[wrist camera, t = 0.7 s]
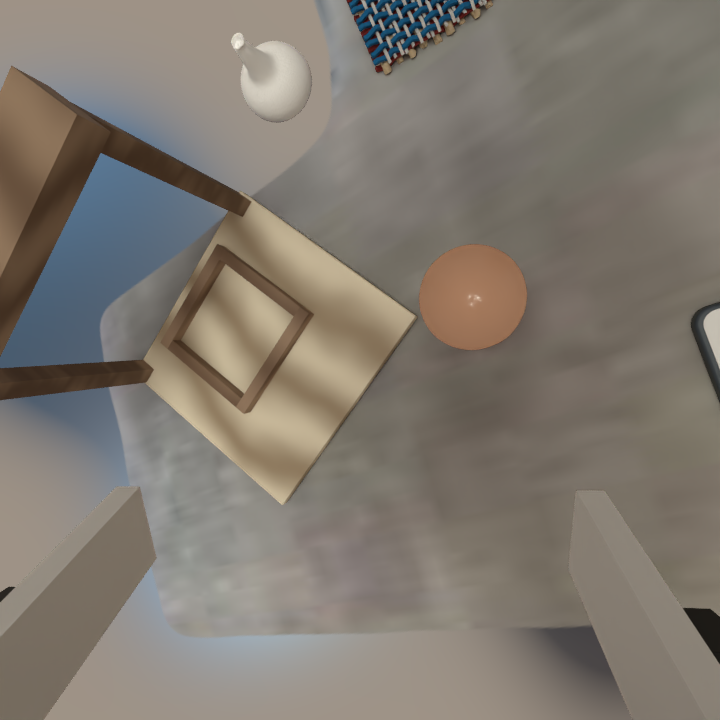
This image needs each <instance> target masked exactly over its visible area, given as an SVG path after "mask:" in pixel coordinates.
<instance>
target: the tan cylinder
mask: <svg viewBox="0 0 720 720" xmlns="http://www.w3.org/2000/svg"><path fill="white" fill-rule="evenodd" d="M526 302H527V289H526V284H525V280H524V277H523V274H522V272H521V271H520V269H519V267H518V266H517V264H516V263H515V262H514V261H513V260H512V259H511V258H510V257H509V256H508V255H506V254H505V253H504V252H502V251H500V250H498V249H496V248H493V247H490V246H486V245H479V244H470V245H463V246H460V247H456V248H454V249H452V250H449V251H448V252H446V253H444V254H443V255H441V256H440V257H439V258H438V259H437V260H436V261H435V262H434V263H433V264H432V265H431V266H430V268H429V269H428V271H427V272H426V274H425V276H424V278H423V280H422V284H421V287H420V293H419V304H420V310H421V314H422V317H423V320H424V322H425V324H426V325H427V327H428V328H429V330H430V331H431V332H432V333H433V334H434V335H435V336H436V337H437V338H438V339H439V340H441V341H442V342H444V343H445V344H447V345H450V346H452V347H455V348H458V349H464V350H478V349H484V348H488V347H490V346H493V345H495V344H498V343H500V342H502V341H503V340H505V339H506V338H508V337H509V336H510V335H511V334H512V333H513V331H514V330H515V329H516V327H517V326H518V324H519V322H520V320H521V318H522V316H523V314H524V311H525V307H526Z"/></svg>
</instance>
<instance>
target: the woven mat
mask: <svg viewBox="0 0 720 720" xmlns="http://www.w3.org/2000/svg"><path fill="white" fill-rule="evenodd" d="M347 3H348V4H349V7H350V10H351V12H352V14H353V15H354V14H356V13H357V12H358V14H359V15H356V16H354V20H355V22H356V23H357V26H358V28H359V31H362V32H361V35H362V37H363V39H364V42H365V45H366V47H367V49H368V52H369V54H370V53H371V59H372V61H373V63H374V65H375V66H376V65H378V64H379V63H380V65H379V66H376V67H375V70H376V72H380V71H384V73H385V75H386V74H388V73H390V72H391V71H392V69H391V65H392V64H393V63H394V61H395V60H396V61H397V62H398V64H400V63H401V62H403V61H404V59H403V57H402V55H404V54H405V53H406V54H407V53H408V55H409V56H410V58H413V57H415V56H416V50H415V49H414V47H415V46H417V45H419V46H420V47H421V48H422V49H423V48H425V47H427V43H428V42H427V40H428V39H429V38H431V37H432V38H433V40H434V42H435V44H436V45H437V44H438V43H440V42H442V41H443V40H442V38H441V36H440V34H439V33H441V32H445V31H446V34H447V36H448V35H450V34H452V33H453V32H455V29H454V26H455V25H456V24H457V23H459V25H462V24H463V23H465V22H466V21H465V19H464V16H466V15H468V14H469V13H470V14H471V15H472V17H473V18H474V19H476V18H478V17H479V16H480V9H479V8H478V7H480V6H482V5H483V4H484V5H485V7H486V9H488V8H489V7H491V6H492V5H493V3H492V1H491V0H347ZM370 4H371V5H370ZM369 5H370V6H369ZM384 5H385V7H386V8H384ZM420 21H421V22H420ZM442 25H443V26H442ZM364 29H365V30H364ZM413 32H414V33H413ZM385 38H386V40H384V39H385Z"/></svg>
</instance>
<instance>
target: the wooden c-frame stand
mask: <svg viewBox="0 0 720 720" xmlns="http://www.w3.org/2000/svg"><path fill="white" fill-rule="evenodd" d="M100 153H103V154H105V155H107V156H109V157H111V158H114V159H116V160H118V161H120V162H122V163H125V164H127V165H129V166H131V167H134V168H136V169H138V170H140V171H142V172H144V173H147V174H149V175H151V176H154V177H156V178H158V179H160V180H162V181H164V182H167V183H169V184H171V185H173V186H175V187H178V188H180V189H182V190H185V191H186V192H189V193H191V194H193V195H195V196H198V197H200V198H202V199H204V200H206V201H208V202H211V203H213V204H215V205H217V206H220V207H222V208H224V209H226V210H228V213H227V214H226V216H225V218H224V220H223V221H222V223H221V225H220V227H219V228H218V230H217V232H216V234H215V235H214V237H213V239H212V241H211V242H210V244H209V246H208V248H207V249H206V251H205V253H204V255H203V256H202V258H201V260H200V262H199V263H198V265H197V267H196V268H195V270H194V272H193V274H192V275H191V277H190V279H189V281H188V282H187V284H186V286H185V288H184V289H183V291H182V293H181V295H180V296H179V298H178V300H177V302H176V303H175V305H174V307H173V309H172V310H171V312H170V314H169V316H168V317H167V319H166V321H165V323H164V324H163V326H162V328H161V330H160V331H159V333H158V335H157V337H156V338H155V340H154V342H153V344H152V345H151V347H150V349H149V351H148V352H147V354H146V356H145V358H144V359H143V360H132V361H115V362H99V363H82V364H65V365H49V366H32V367H15V368H0V400H5V399H14V398H21V397H30V396H38V395H46V394H55V393H62V392H70V391H79V390H87V389H95V388H104V387H112V386H120V385H128V384H137V383H145V384H147V385H148V386H149V387H150V388H151V389H152V390H153V391H154V392H156V393H157V394H158V395H159V396H160V397H161V398H162V399H163V400H165V401H166V402H167V403H168V404H169V405H170V406H171V407H172V408H174V409H175V410H176V411H177V412H178V413H179V414H180V415H181V416H183V417H184V418H185V419H186V420H187V421H188V422H189V423H190V424H192V425H193V426H194V427H195V428H196V429H197V430H198V431H199V432H201V433H202V434H203V435H204V436H205V437H206V438H207V439H208V440H210V441H211V442H212V443H213V444H214V445H215V446H216V447H217V448H219V449H220V450H221V451H222V452H223V453H224V454H225V455H226V456H228V457H229V458H230V459H231V460H232V461H233V462H234V463H235V464H237V465H238V466H239V467H240V468H241V469H242V470H243V471H244V472H246V473H247V474H248V475H249V476H250V477H251V478H252V479H253V480H255V481H256V482H257V483H258V484H259V485H260V486H261V487H262V488H264V489H265V490H266V491H267V492H268V493H269V494H270V495H271V496H273V497H274V498H275V499H276V500H277V501H278V502H279V503H280V504H282V505H283V504H285V503H286V502H287V501H288V500H289V498H290V497H291V496H292V494H293V493H294V491H295V490H296V489H297V487H298V486H299V484H300V483H301V481H302V480H303V479H304V477H305V476H306V474H307V473H308V472H309V470H310V469H311V467H312V466H313V464H314V463H315V462H316V460H317V459H318V457H319V456H320V455H321V453H322V452H323V450H324V449H325V447H326V446H327V445H328V443H329V442H330V440H331V439H332V438H333V436H334V435H335V433H336V432H337V430H338V429H339V428H340V426H341V425H342V423H343V422H344V421H345V419H346V418H347V416H348V415H349V413H350V412H351V411H352V409H353V408H354V406H355V405H356V404H357V402H358V401H359V399H360V398H361V396H362V395H363V394H364V392H365V391H366V389H367V388H368V387H369V385H370V384H371V382H372V381H373V379H374V378H375V377H376V375H377V374H378V372H379V371H380V370H381V368H382V367H383V365H384V364H385V362H386V361H387V360H388V358H389V357H390V355H391V354H392V353H393V351H394V350H395V348H396V347H397V345H398V344H399V343H400V341H401V340H402V338H403V337H404V336H405V334H406V333H407V331H408V330H409V328H410V327H411V326H412V324H413V323H414V321H415V320H416V319H417V316H416V315H415V314H413V313H412V312H410V311H409V310H408V309H406V308H405V307H403V306H402V305H401V304H399V303H398V302H396V301H395V300H394V299H392V298H391V297H389V296H388V295H387V294H385V293H384V292H382V291H381V290H380V289H378V288H377V287H375V286H374V285H373V284H371V283H370V282H368V281H367V280H366V279H364V278H363V277H361V276H360V275H359V274H357V273H356V272H354V271H353V270H352V269H350V268H349V267H347V266H346V265H345V264H343V263H342V262H340V261H339V260H338V259H336V258H335V257H333V256H332V255H331V254H329V253H328V252H326V251H325V250H324V249H322V248H321V247H319V246H318V245H317V244H315V243H314V242H312V241H311V240H310V239H308V238H307V237H306V236H304V235H303V234H301V233H300V232H299V231H297V230H296V229H294V228H293V227H292V226H290V225H289V224H287V223H286V222H285V221H283V220H282V219H280V218H279V217H278V216H276V215H275V214H273V213H272V212H271V211H269V210H268V209H266V208H265V207H264V206H262V205H261V204H259V203H258V202H257V201H255V200H254V199H252V198H251V197H250V196H248V195H247V194H245V193H243V192H242V191H240V192H237V191H235V190H233V189H231V188H229V187H228V186H226V185H224V184H222V183H220V182H218V181H216V180H214V179H213V178H211V177H209V176H207V175H205V174H203V173H201V172H199V171H198V170H196V169H194V168H192V167H190V166H188V165H186V164H185V163H183V162H181V161H179V160H177V159H175V158H174V157H171V156H170V155H168V154H166V153H164V152H162V151H160V150H159V149H157V148H155V147H153V146H151V145H149V144H147V143H145V142H144V141H142V140H140V139H138V138H136V137H134V136H133V135H131V134H129V133H127V132H125V131H123V130H121V129H119V128H118V127H116V126H114V125H112V124H110V123H108V122H107V121H105V120H103V119H101V118H99V117H97V116H95V115H93V114H92V113H90V112H88V111H86V110H84V109H82V108H80V107H78V106H77V105H75V104H73V103H71V102H69V101H68V100H67V99H65V98H64V97H63V96H61V95H60V94H59V93H57V92H56V91H55V90H53V89H52V88H51V87H49V86H47V85H46V84H44V83H42V82H40V81H38V80H37V79H35V78H33V77H31V76H29V75H27V74H26V73H24V72H22V71H20V70H18V69H16V68H15V67H13V66H11V68H10V70H9V73H8V75H7V77H6V80H5V82H4V85H3V87H2V89H1V91H0V356H1V354H2V352H3V350H4V348H5V346H6V344H7V342H8V340H9V338H10V335H11V334H12V331H13V329H14V327H15V325H16V323H17V321H18V319H19V317H20V315H21V313H22V311H23V309H24V307H25V305H26V303H27V301H28V299H29V297H30V295H31V293H32V291H33V289H34V287H35V285H36V283H37V281H38V279H39V277H40V275H41V273H42V271H43V269H44V267H45V265H46V263H47V260H48V258H49V256H50V254H51V252H52V250H53V248H54V246H55V244H56V242H57V240H58V238H59V236H60V234H61V232H62V230H63V228H64V226H65V224H66V222H67V220H68V218H69V216H70V214H71V212H72V210H73V208H74V206H75V204H76V202H77V200H78V198H79V196H80V193H81V191H82V189H83V187H84V185H85V183H86V181H87V179H88V177H89V175H90V173H91V171H92V169H93V167H94V165H95V163H96V161H97V159H98V157H99V155H100Z"/></svg>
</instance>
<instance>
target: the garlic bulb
mask: <svg viewBox="0 0 720 720" xmlns="http://www.w3.org/2000/svg"><path fill="white" fill-rule="evenodd" d="M231 44H232V45H233V47H234V50H235V51H236V52H237V54H238V56H239V57H240V59H241V61H242V62H243V67H242V71H241V89H242V93H243V96H244V99H245V101H246V103H247V105H248V106H249V107H250V109H251V110H252V111H253V112H254V113H255V114H256V115H258V116H259V117H261V118H262V119H264V120H267V121H271V122H284V121H286V120H289V119H291V118H293V117H295V116H296V115H297V114H298V113H299V112H300V111H301V110H302V109H303V108H304V106H305V104H306V103H307V101H308V98H309V96H310V92H311V86H312V76H311V72H310V68H309V65H308V63H307V61H306V59H305V58H304V56H303V55H302V54H301V53H300V52H299V51H298V50H297V49H296V48H294V47H293V46H291V45H289V44H287V43H284V42H281V41H269V42H265V43H262V44H260V45H258V46H257V47H255V46H253V45H252V44H250V43H249V42H248V41H247V40H245V39H244V37H243V36H242V34H241V33H236V34H235V35H234V36H233V37H232V40H231Z"/></svg>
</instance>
